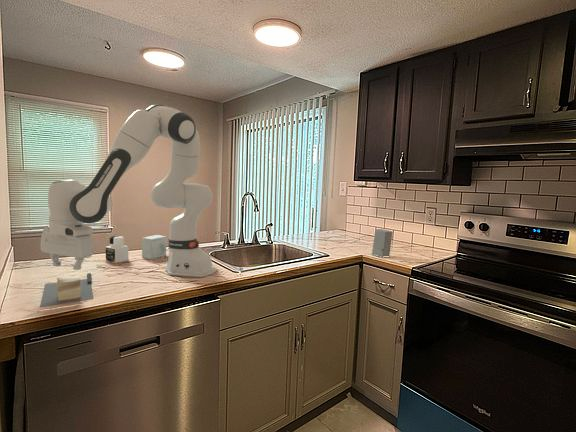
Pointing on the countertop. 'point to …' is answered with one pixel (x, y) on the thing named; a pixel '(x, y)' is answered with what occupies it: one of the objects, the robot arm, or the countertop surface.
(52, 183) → the robot arm
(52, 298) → the rubber mat
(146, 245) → the skincare box
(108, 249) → the medicine bottle
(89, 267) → the spatula
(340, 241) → the countertop surface
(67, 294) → the birch cube
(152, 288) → the countertop surface
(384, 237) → the skincare box
